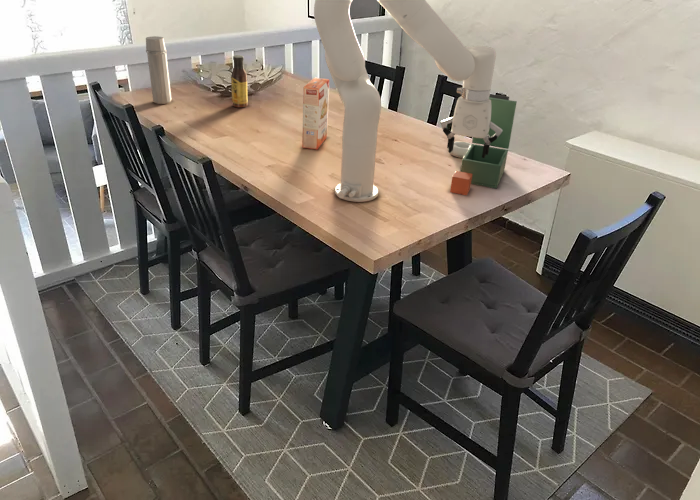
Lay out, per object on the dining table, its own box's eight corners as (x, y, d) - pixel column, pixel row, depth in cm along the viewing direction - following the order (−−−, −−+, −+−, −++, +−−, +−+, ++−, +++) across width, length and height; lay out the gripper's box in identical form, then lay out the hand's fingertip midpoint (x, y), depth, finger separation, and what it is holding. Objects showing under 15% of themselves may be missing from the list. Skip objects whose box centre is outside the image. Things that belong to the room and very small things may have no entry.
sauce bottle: (230, 104, 235) (227, 54, 225) (245, 103, 237) (243, 53, 227) (234, 108, 230) (232, 58, 220) (249, 107, 232) (247, 57, 222)
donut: (442, 150, 200) (454, 160, 192) (443, 140, 198) (455, 150, 190) (468, 148, 203) (481, 158, 194) (469, 139, 201) (482, 148, 193)
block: (466, 195, 167) (469, 179, 165) (450, 192, 169) (452, 176, 166) (470, 189, 171) (472, 173, 169) (453, 186, 173) (455, 170, 170)
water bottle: (152, 100, 235) (144, 36, 222) (172, 99, 237) (165, 36, 225) (152, 106, 227) (144, 40, 215) (173, 105, 230) (166, 40, 217)
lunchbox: (496, 188, 173) (500, 166, 169) (458, 181, 176) (462, 159, 172) (504, 171, 185) (508, 149, 182) (468, 164, 189) (472, 143, 185)
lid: (516, 102, 170) (519, 93, 174) (477, 96, 173) (481, 88, 177) (508, 149, 181) (511, 139, 185) (472, 142, 185) (475, 134, 188)
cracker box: (318, 150, 194) (320, 88, 183) (301, 148, 195) (301, 86, 184) (328, 137, 206) (330, 78, 195) (312, 135, 206) (313, 76, 196)
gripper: (441, 93, 155) (434, 153, 164) (505, 102, 150) (495, 163, 159) (447, 87, 161) (440, 145, 170) (509, 95, 156) (499, 154, 165)
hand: (467, 153), depth 164 cm, fingers open, 9 cm apart
